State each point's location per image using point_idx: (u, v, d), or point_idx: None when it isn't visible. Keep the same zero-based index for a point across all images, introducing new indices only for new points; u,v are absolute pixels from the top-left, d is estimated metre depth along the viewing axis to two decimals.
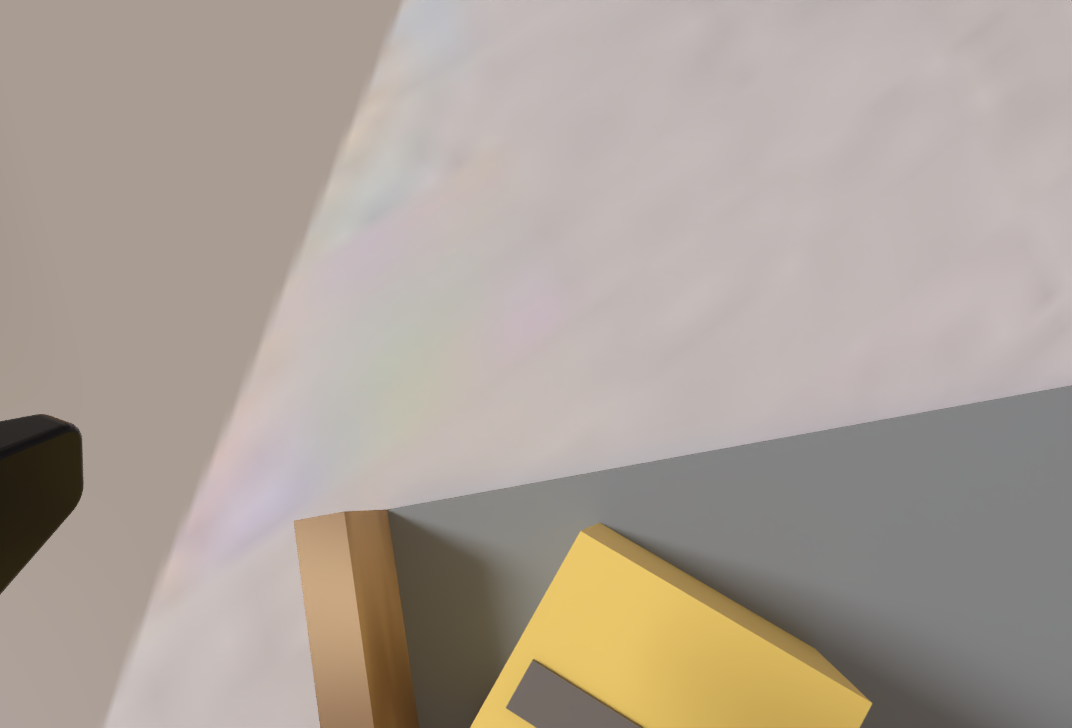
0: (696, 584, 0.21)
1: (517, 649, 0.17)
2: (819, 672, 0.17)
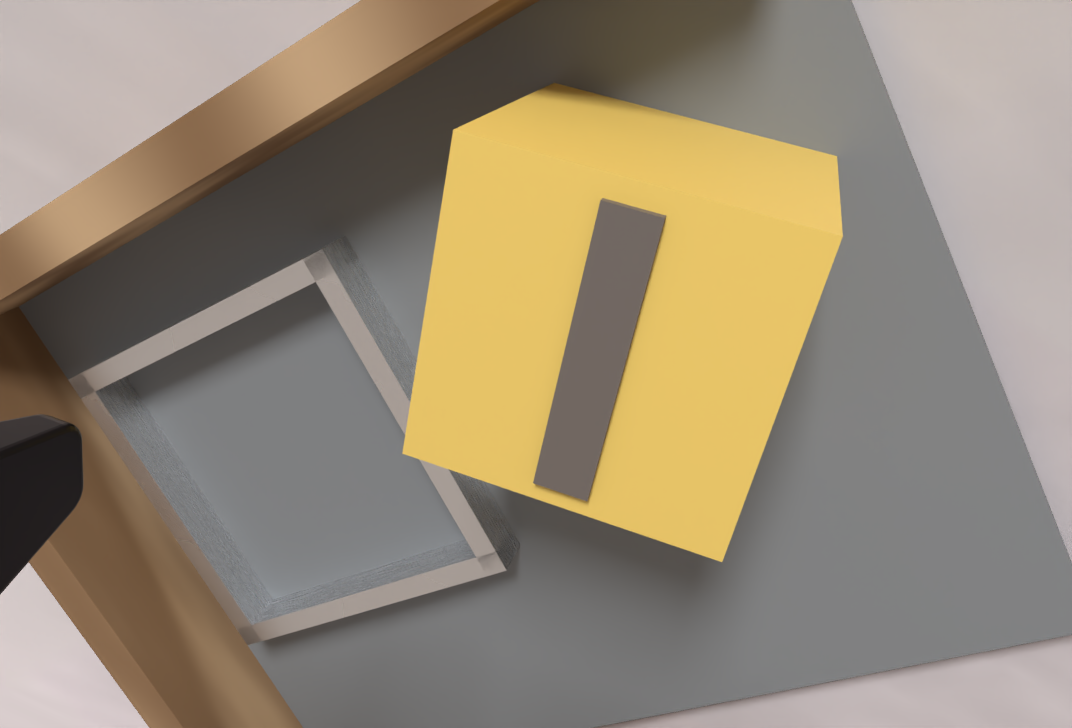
0: None
1: (671, 194, 0.13)
2: (739, 513, 0.15)
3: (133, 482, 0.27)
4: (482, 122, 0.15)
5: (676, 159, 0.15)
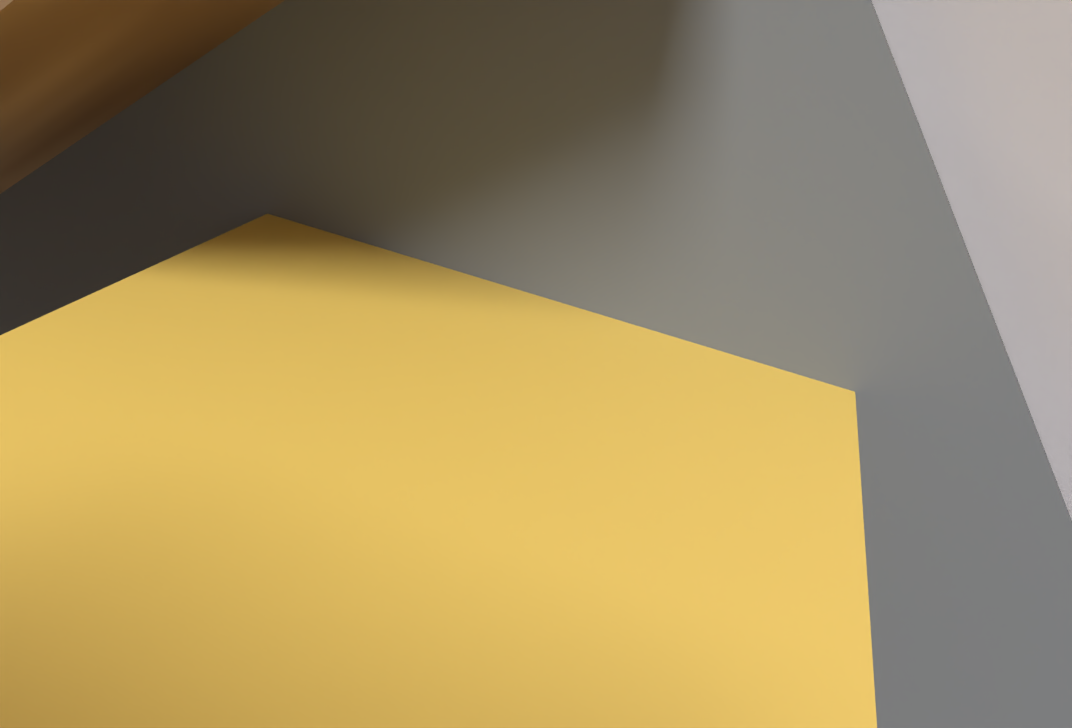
0: None
1: None
2: None
3: None
4: None
5: (397, 536, 0.05)
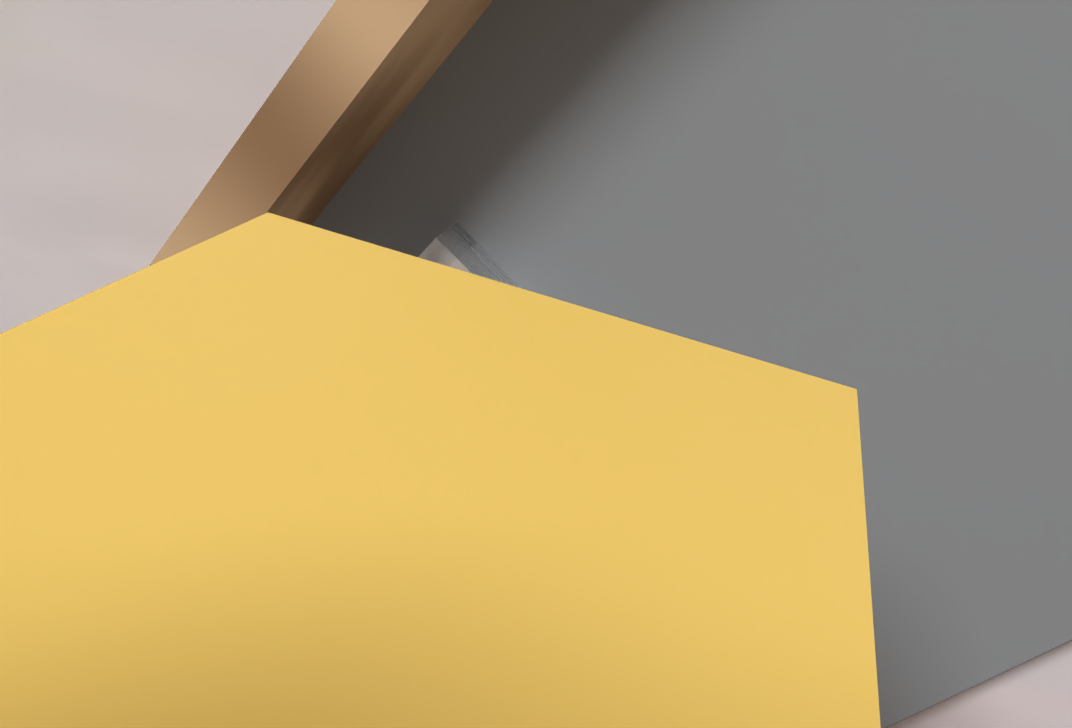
0: None
1: None
2: None
3: None
4: None
5: (398, 534, 0.05)
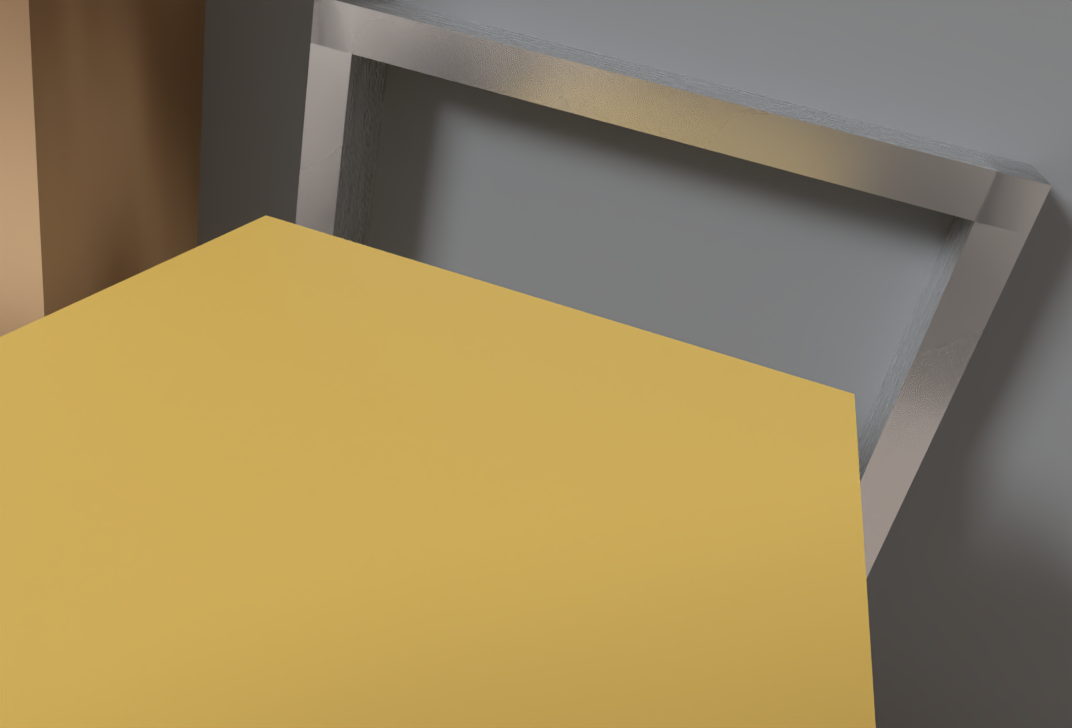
0: None
1: None
2: None
3: None
4: None
5: (395, 540, 0.05)
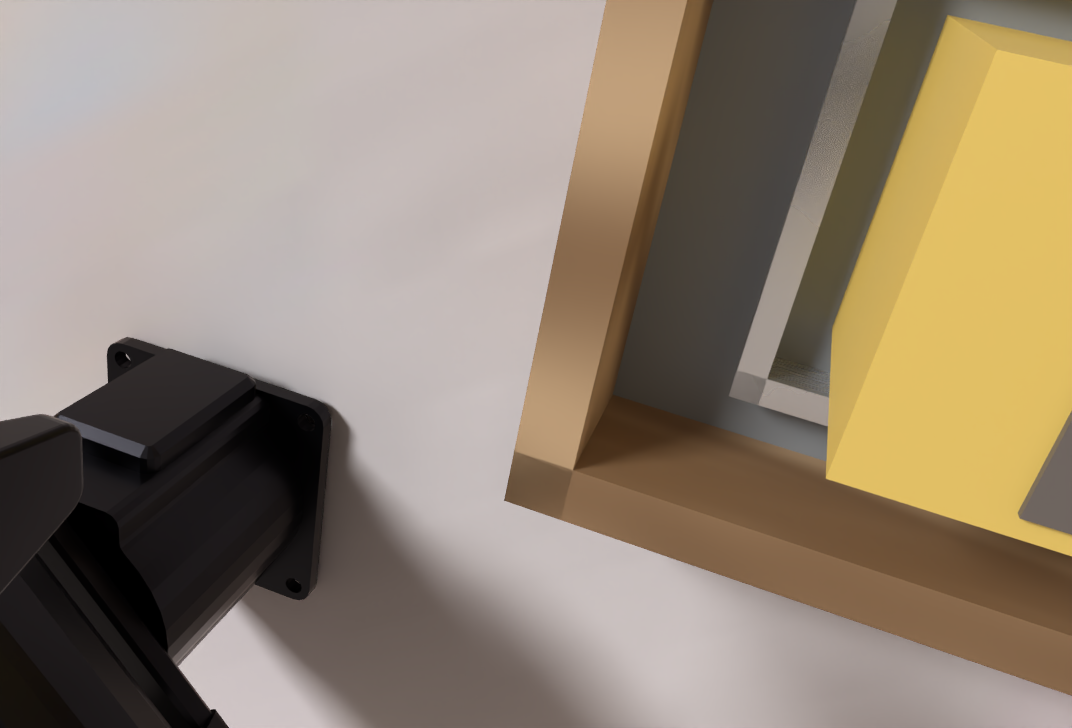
0: None
1: None
2: None
3: None
4: (996, 44, 0.11)
5: None
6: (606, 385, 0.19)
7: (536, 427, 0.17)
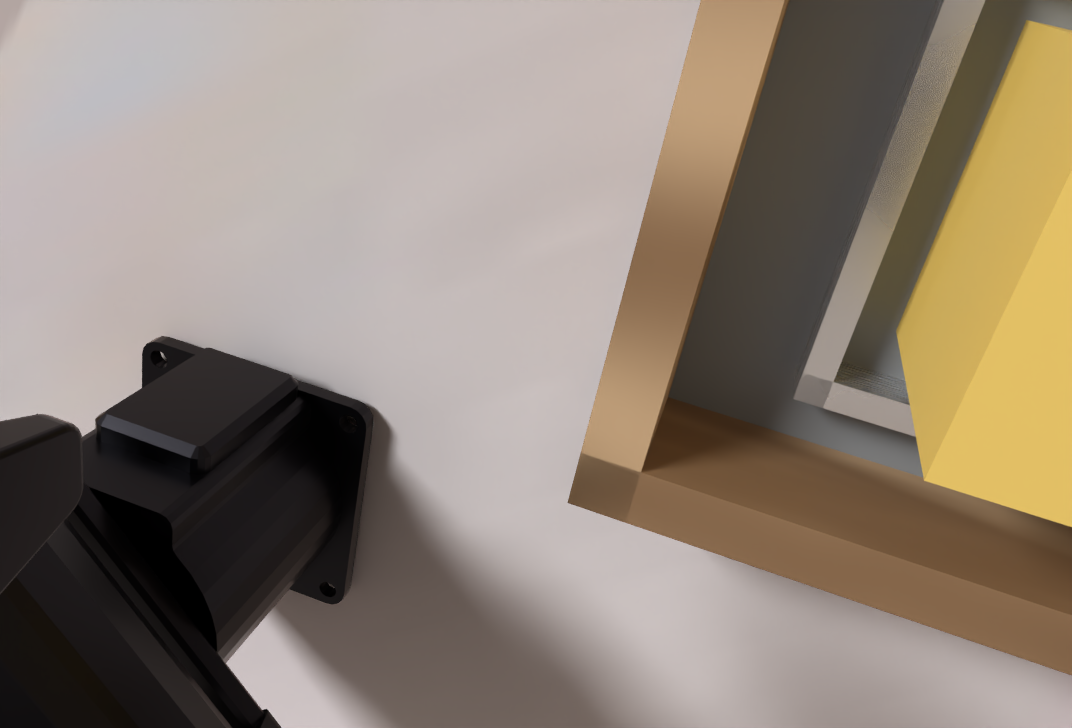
0: None
1: None
2: None
3: (939, 485, 0.19)
4: None
5: None
6: (669, 387, 0.19)
7: (605, 429, 0.17)
